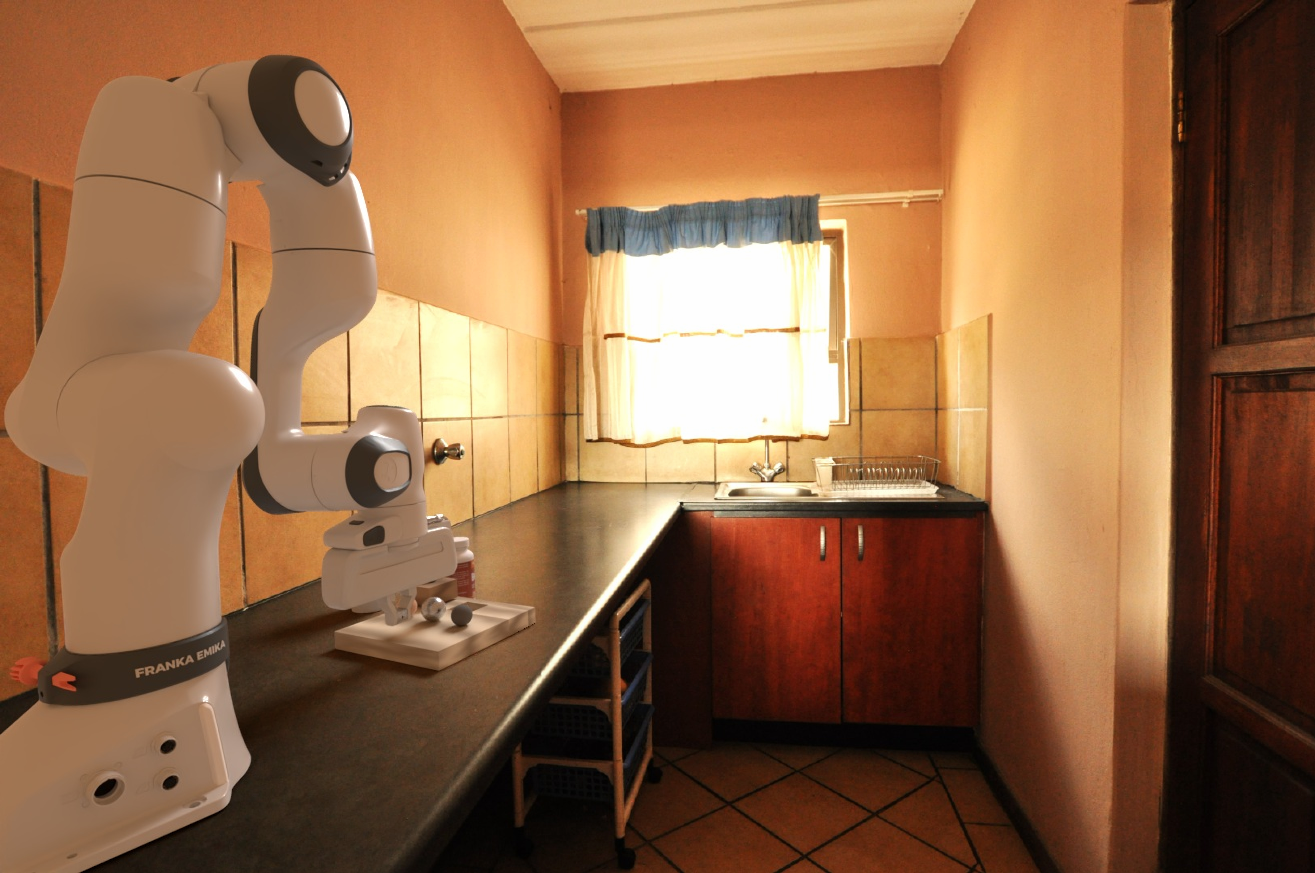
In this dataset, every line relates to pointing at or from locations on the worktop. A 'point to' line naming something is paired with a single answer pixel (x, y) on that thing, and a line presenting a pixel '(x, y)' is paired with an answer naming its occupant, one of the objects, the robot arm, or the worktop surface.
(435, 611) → the steel ball
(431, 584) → the cover
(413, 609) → the terracotta ball
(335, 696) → the worktop surface
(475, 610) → the board
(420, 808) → the worktop surface
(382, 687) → the worktop surface
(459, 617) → the black rubber ball
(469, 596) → the pill bottle
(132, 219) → the robot arm
